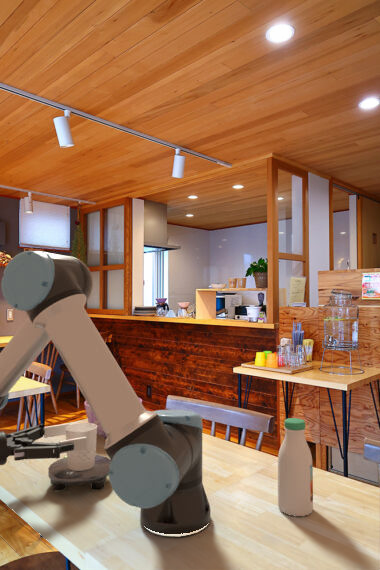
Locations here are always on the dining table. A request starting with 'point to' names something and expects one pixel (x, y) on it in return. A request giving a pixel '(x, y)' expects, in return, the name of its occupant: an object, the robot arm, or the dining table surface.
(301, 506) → the milk bottle
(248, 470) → the dining table surface
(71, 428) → the white cup
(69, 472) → the stand
